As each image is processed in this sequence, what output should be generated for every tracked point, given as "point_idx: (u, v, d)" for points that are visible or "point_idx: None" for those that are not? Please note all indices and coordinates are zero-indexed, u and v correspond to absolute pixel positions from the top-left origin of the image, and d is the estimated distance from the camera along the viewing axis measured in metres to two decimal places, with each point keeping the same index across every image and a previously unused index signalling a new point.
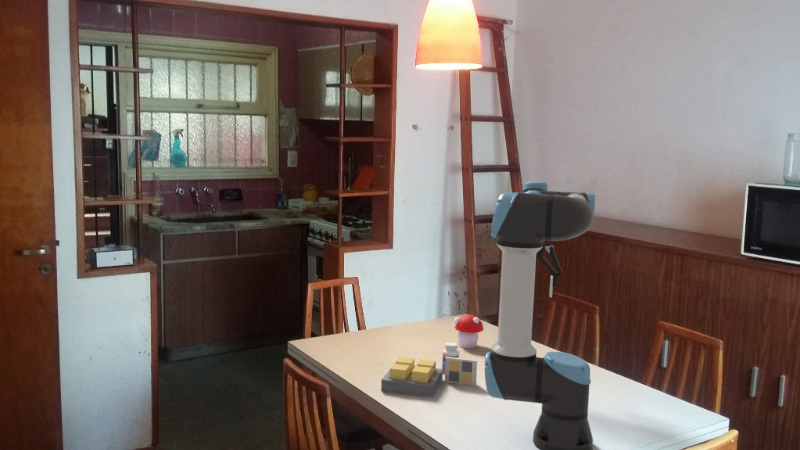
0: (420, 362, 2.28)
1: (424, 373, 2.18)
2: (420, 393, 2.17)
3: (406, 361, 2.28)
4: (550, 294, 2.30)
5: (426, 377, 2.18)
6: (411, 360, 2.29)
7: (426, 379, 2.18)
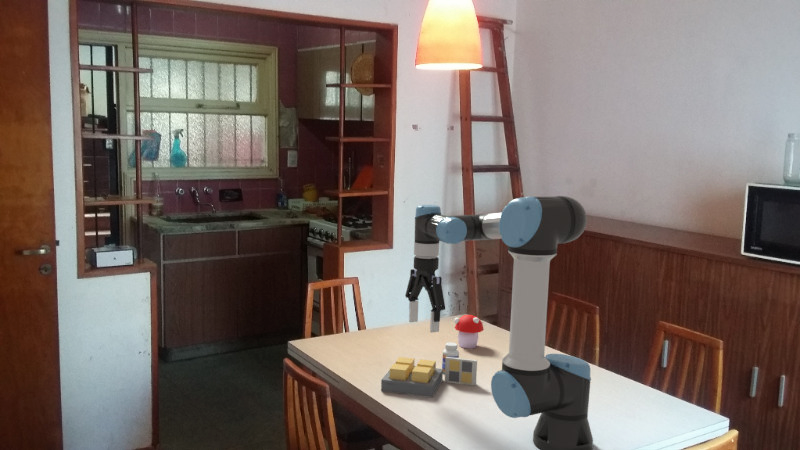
0: (420, 362, 2.28)
1: (424, 373, 2.18)
2: (420, 393, 2.17)
3: (406, 361, 2.28)
4: (430, 329, 2.13)
5: (426, 377, 2.18)
6: (411, 360, 2.29)
7: (426, 379, 2.18)
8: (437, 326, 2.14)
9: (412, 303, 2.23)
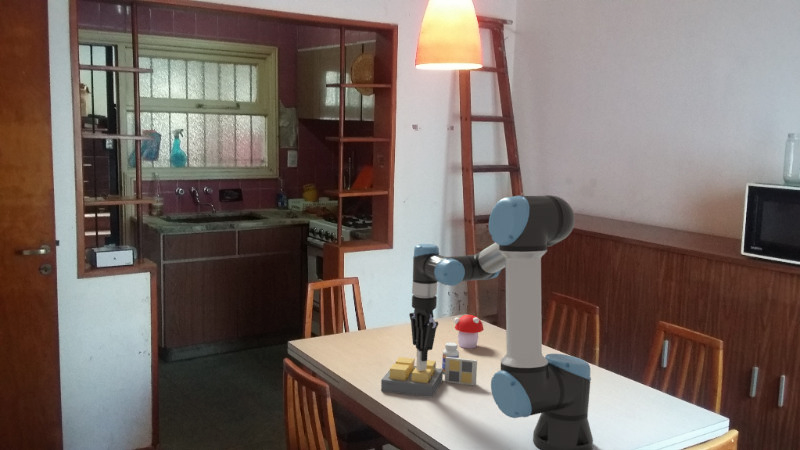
0: None
1: (424, 374, 2.18)
2: (420, 393, 2.17)
3: (406, 361, 2.28)
4: (418, 368, 2.20)
5: (426, 378, 2.18)
6: (411, 360, 2.29)
7: (426, 380, 2.18)
8: (424, 365, 2.21)
9: None
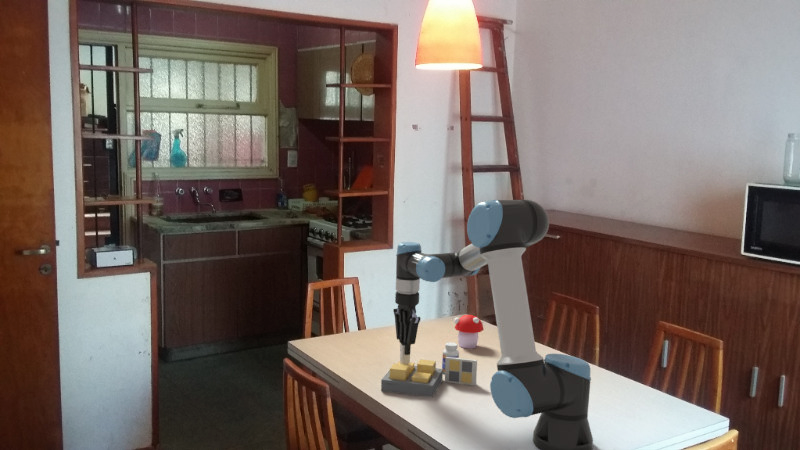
0: (420, 362, 2.28)
1: (424, 379, 2.19)
2: (420, 393, 2.17)
3: None
4: (401, 361, 2.29)
5: None
6: (411, 364, 2.29)
7: None
8: (408, 359, 2.29)
9: None
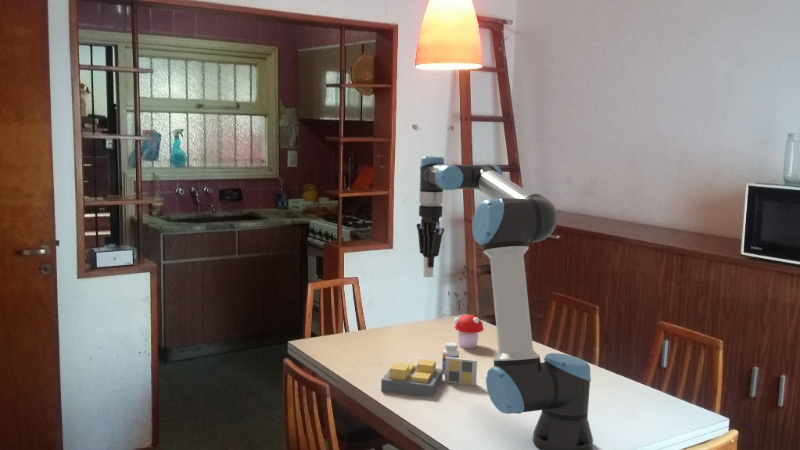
0: (420, 362, 2.28)
1: (424, 379, 2.19)
2: (420, 393, 2.17)
3: None
4: (425, 274, 2.33)
5: None
6: (411, 366, 2.29)
7: None
8: (431, 272, 2.34)
9: None
